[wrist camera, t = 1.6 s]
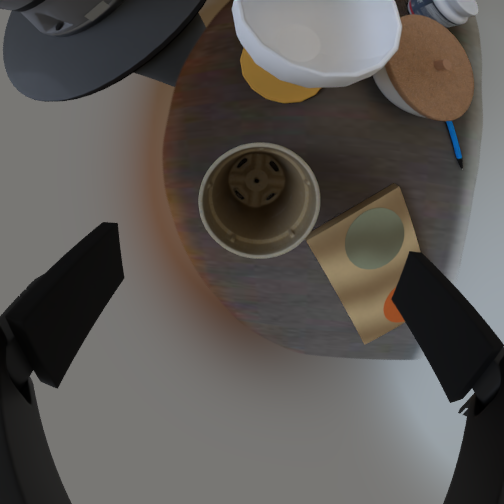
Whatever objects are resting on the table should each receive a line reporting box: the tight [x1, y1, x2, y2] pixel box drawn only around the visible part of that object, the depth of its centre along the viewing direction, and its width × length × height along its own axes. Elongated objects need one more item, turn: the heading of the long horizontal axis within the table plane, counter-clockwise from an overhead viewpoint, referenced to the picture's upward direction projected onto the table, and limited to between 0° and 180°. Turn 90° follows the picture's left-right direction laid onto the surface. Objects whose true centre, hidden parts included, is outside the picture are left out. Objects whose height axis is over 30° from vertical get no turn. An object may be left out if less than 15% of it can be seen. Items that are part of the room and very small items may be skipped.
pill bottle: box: [408, 0, 478, 28], centre depth 13 cm, size 5×5×9 cm
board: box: [305, 183, 420, 344], centre depth 33 cm, size 21×13×2 cm, turn 33°
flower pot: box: [198, 142, 320, 259], centre depth 24 cm, size 9×9×9 cm
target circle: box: [383, 287, 405, 323], centre depth 34 cm, size 8×8×1 cm
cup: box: [232, 0, 402, 103], centre depth 15 cm, size 9×9×16 cm
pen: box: [446, 121, 463, 169], centre depth 22 cm, size 1×19×1 cm
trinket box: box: [372, 14, 474, 121], centre depth 18 cm, size 11×11×9 cm
